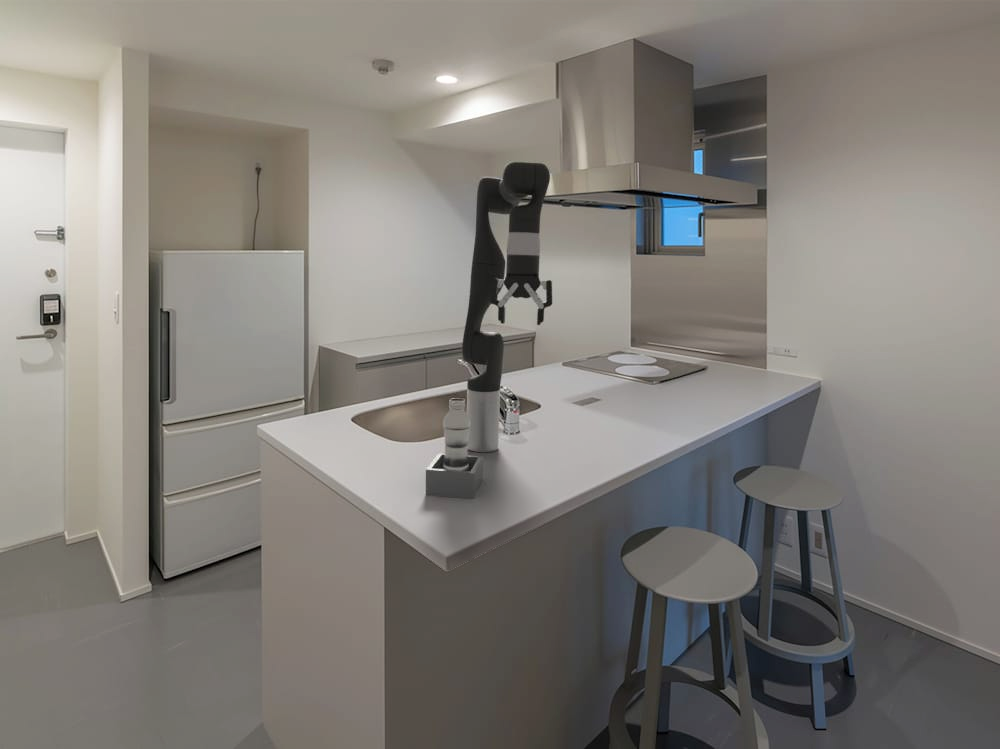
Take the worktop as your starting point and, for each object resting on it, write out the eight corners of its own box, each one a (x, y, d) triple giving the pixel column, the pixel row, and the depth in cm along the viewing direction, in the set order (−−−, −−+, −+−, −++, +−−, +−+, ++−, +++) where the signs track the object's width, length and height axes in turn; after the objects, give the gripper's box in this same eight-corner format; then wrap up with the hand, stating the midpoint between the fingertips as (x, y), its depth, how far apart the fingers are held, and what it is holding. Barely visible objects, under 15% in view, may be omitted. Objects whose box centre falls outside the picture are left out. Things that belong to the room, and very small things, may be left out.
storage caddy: (438, 476, 145) (438, 452, 144) (482, 479, 144) (483, 456, 143) (425, 494, 134) (425, 469, 133) (473, 498, 132) (474, 473, 131)
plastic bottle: (469, 478, 142) (471, 396, 138) (469, 488, 136) (471, 403, 132) (442, 477, 142) (443, 396, 138) (440, 488, 135) (442, 403, 132)
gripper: (555, 254, 138) (551, 323, 141) (495, 252, 140) (493, 321, 143) (553, 254, 131) (550, 327, 134) (490, 252, 133) (488, 324, 136)
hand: (520, 324), depth 139 cm, fingers open, 8 cm apart
